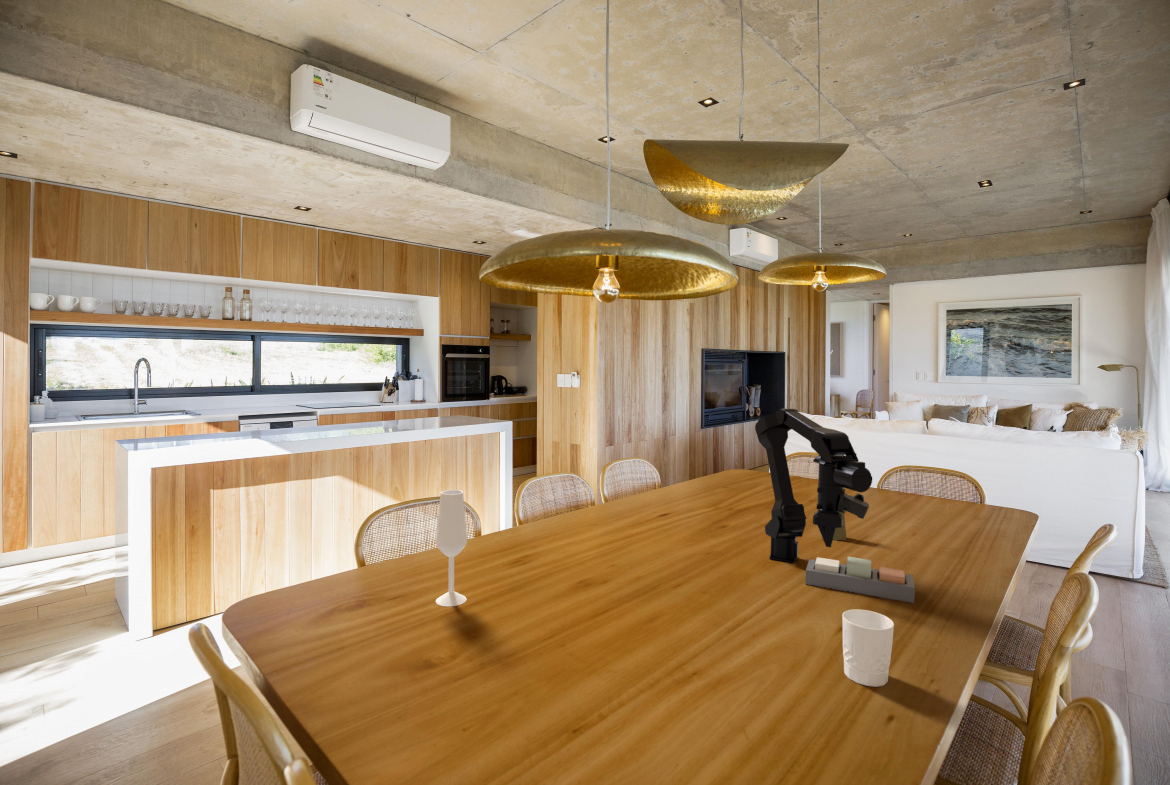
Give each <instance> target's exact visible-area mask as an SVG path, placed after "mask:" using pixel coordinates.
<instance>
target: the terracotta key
mask: <svg viewBox="0 0 1170 785" xmlns="http://www.w3.org/2000/svg"><path fill="white" fill-rule="evenodd" d="M878 570H879V580H883V581H889V582H895V583H901V584H905V574H906V573H905V570H902V569H896V568H890V567H883V566H879V567H878Z"/></svg>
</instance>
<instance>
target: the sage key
mask: <svg viewBox="0 0 1170 785" xmlns="http://www.w3.org/2000/svg"><path fill="white" fill-rule="evenodd" d="M846 565H847V573H846V575H852V576H858V577H864V578H871V569H872V560H871V559H869V558H868V559H867V558H861V557H854V556H847V560H846Z"/></svg>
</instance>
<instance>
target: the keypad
mask: <svg viewBox="0 0 1170 785" xmlns="http://www.w3.org/2000/svg"><path fill="white" fill-rule="evenodd" d="M815 562H816V559H810V558H809V559H808V562H807V565H806V569H805V579H804V580H805V585H807V584H808V586H813V585H814V586H813V587H819V588H824V587H825V588H826V589H830V588H832V590H836V589H837V590H836V591H842V590H843V591H842V592H847V591H849V593H853V592H854V594H859V595H864V596H871V597H877V598H883V599H889V600H894V601H901V602H906V603H912V604H914V603H915V596H916V595H915V594H916V592H915V591H916V586H915V581H914V575H912V574H910V573H909V574H907V573H904V574H905V584H901V583H895V582H889V581H883V580H879V569H876V568H871V578H864V577H858V576H852V575H846V573H847V564H844V563H839V573H834V572H828V571H821V570H815Z"/></svg>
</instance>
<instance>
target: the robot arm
mask: <svg viewBox="0 0 1170 785" xmlns="http://www.w3.org/2000/svg"><path fill="white" fill-rule="evenodd" d="M754 429H755V432H756V433H755V434H756V436H757V440H758V442H759V444H761V446H762V447H763V448H764V450H765V451H766V452H765V453H766V456H767V463H768V468H769V474H770V478H771V479H770V480H771V485H772V490H773V496H774V504H773V506H772V508H771V511H770V512H771V514H770V515H771V519H770V520H769V521H768V522H767V524H765V526H764V530H765V535H766V536H768V537H770V554H769V556H768V559H770V560H774V561H775V560H776V561H780V562H781V561H782V562H785V563H795V561H796V560H797V559H798V557H799V541H797V538H802V537H803V535H804V531H805V528H806V526H807V521H806V520H807V516H806V512H805V506H804V504H803V503H798V502H797V500H796V499H795V496H794V491H793V487H792V480H791V476H790V470H789V466H788V460H787V455H786V449H785V446H786V444H787V441H788V439H789V433H788V432H790V431H791V430H793V431H794V432H796V433H797V434H799V435H800V436H802V437H803V438H804V439H805V440H808V442H809V443H810V447H811V449H813V450H814V451H815V452H816V453H817V454H818V455H817V456H816V457H814V459H812V461H813V463H816V464H818V474H817V475H818V478H817V479H818V480H817V488H816V492H817V503H816V511H815V512H814V513H813V515H812V524H813V525H814V526H817V527H818V530H819V532H820V535H821V538H822V540H823V542H824V544H825V547H826V548H832V545H833V541H834V540H833V537H834V533H835V529H836V528H842V523H843V516H842V515H841V514H840V513H839V512H842V513H845V511H846V513H847V512H848V513H850V514H852V515H855V516H856V517H857V518H859V519H861V520H864V519H865V517H866V515H867V512H868V510H869V508H870V504H869V503H868V502H867V501H865V496H864V495H863V494H861V493H864V492H867V491H868V490H869V489H870V488H871V486H872V483H873V476H872V473H871V471H870V470H869V468H867V467H866V462H865V461H859V458H858V456H857V453H856V451H855V450H854V447H853V445H852V443H851V441H850V439H849V435H847V433H845V432H842V431H839V430H837V429H832V428H828V427H823V426H822V425H820V424H818V423H817V422H816V421H814V420H812V419H810V418H809V417H807V416H805V415H803V414H802V413H801V412H799V411H798V409H795V408H780V409H778V410H776V411H775V412H773V413H771V414H769V415H766V416H764V417H760V418H759V419H758V421H757V422H756V423H755V425H754ZM846 489H847V490H851V491H854V492H857V493H856V494H854V495H852V494H851V495H849V494H847V493H846ZM846 513H845V514H846Z"/></svg>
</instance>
